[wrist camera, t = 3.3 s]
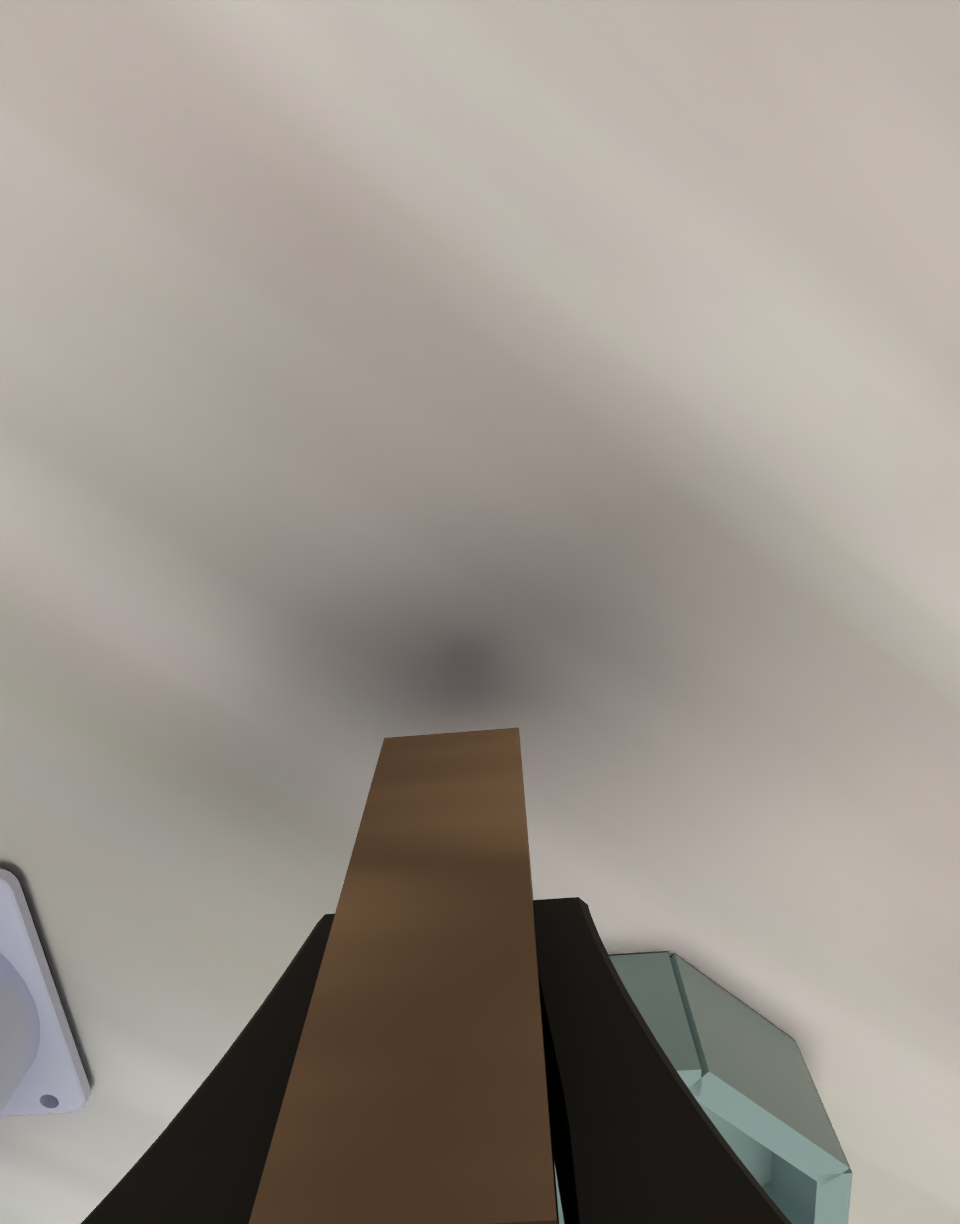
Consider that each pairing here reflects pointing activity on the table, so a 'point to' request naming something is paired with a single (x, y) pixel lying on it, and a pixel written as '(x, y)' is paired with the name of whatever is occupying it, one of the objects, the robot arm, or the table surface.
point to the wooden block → (425, 1011)
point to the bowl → (744, 1085)
